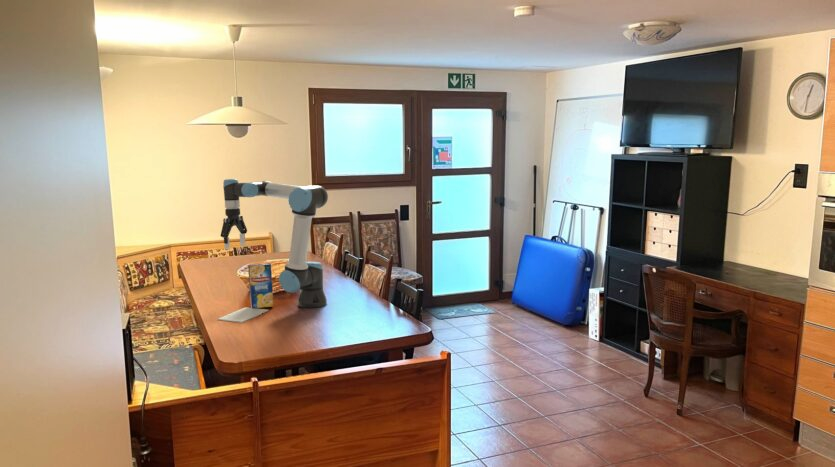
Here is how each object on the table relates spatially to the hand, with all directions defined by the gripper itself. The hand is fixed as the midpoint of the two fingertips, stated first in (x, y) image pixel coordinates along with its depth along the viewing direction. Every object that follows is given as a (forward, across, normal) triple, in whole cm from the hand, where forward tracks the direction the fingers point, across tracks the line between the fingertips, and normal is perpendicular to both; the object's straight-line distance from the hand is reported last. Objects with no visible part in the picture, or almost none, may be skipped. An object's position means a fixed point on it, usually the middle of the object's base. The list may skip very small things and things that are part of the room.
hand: (235, 247), depth 315 cm
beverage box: (+30, +6, +18) cm, 36 cm away
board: (+30, +21, +18) cm, 41 cm away
